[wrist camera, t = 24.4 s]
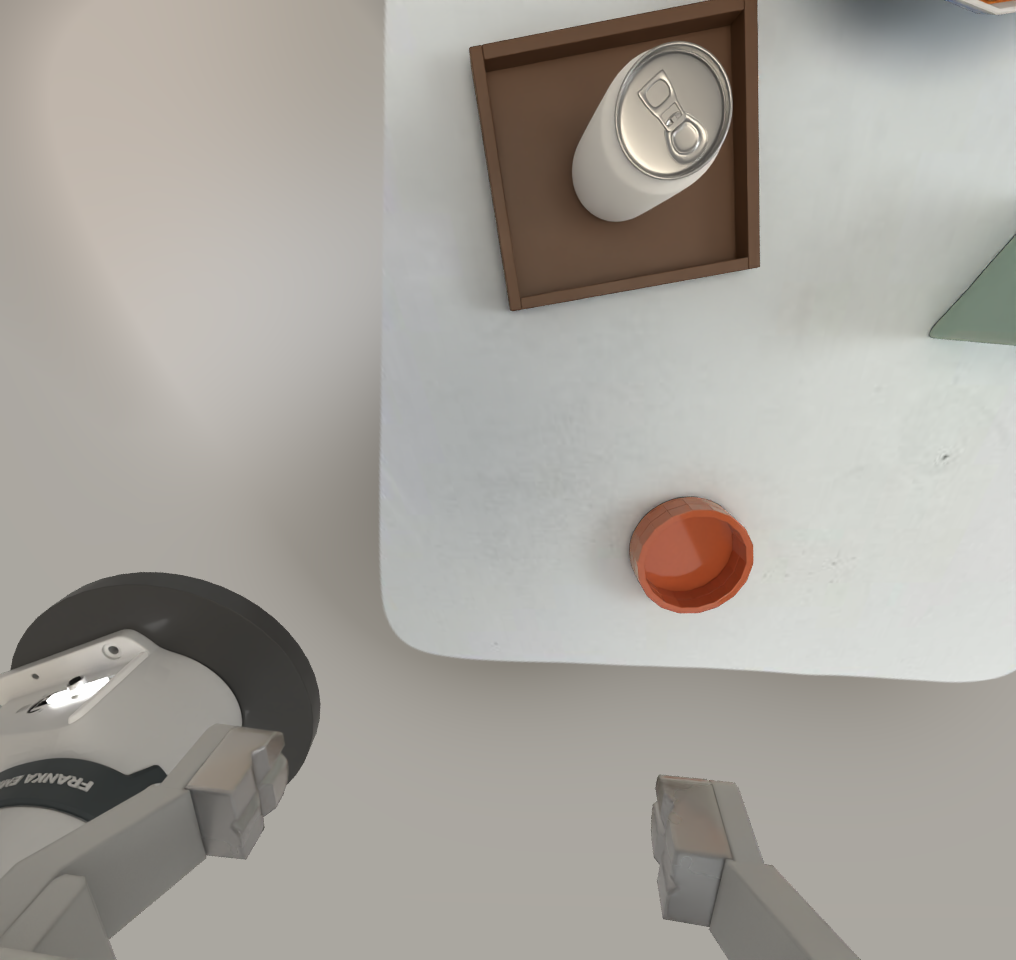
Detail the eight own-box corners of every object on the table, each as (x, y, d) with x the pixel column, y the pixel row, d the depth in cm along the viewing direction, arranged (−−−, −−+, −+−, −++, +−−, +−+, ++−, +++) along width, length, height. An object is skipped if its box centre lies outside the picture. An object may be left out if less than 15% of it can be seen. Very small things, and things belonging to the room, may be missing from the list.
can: (608, 243, 38) (657, 219, 26) (551, 165, 36) (578, 103, 25) (682, 177, 36) (768, 121, 25) (627, 92, 35) (692, -8, 23)
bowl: (634, 603, 48) (643, 622, 45) (624, 506, 45) (632, 520, 42) (738, 586, 48) (754, 604, 45) (736, 487, 45) (752, 500, 42)
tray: (509, 310, 39) (511, 311, 37) (470, 64, 34) (468, 46, 32) (743, 268, 39) (760, 266, 36) (739, 11, 34) (757, -10, 31)
